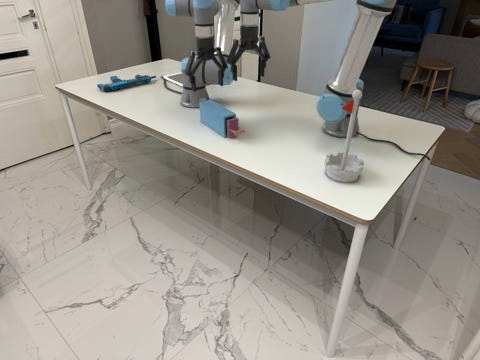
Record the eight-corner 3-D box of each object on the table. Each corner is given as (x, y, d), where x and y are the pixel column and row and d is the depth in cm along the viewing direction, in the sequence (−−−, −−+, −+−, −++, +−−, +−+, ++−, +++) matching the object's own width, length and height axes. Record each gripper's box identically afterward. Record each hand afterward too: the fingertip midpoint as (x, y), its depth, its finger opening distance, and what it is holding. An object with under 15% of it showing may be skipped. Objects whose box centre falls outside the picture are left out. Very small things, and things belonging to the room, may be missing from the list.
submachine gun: (141, 69, 223) (160, 75, 207) (142, 74, 225) (161, 81, 209) (89, 79, 205) (105, 87, 188) (91, 85, 207) (107, 93, 190)
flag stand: (346, 161, 127) (361, 81, 110) (369, 179, 117) (390, 94, 100) (316, 168, 123) (327, 86, 106) (337, 186, 113) (353, 99, 96)
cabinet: (236, 134, 147) (236, 113, 142) (224, 137, 144) (223, 117, 139) (211, 118, 162) (210, 99, 157) (200, 121, 159) (199, 102, 154)
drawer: (245, 139, 141) (245, 122, 137) (235, 142, 139) (235, 125, 134) (214, 119, 158) (214, 104, 154) (205, 121, 156) (204, 106, 152)
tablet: (160, 77, 217) (160, 76, 217) (187, 71, 229) (187, 71, 228) (188, 89, 197) (188, 88, 197) (215, 82, 208) (215, 81, 208)
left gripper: (225, 32, 146) (226, 80, 158) (172, 38, 135) (178, 90, 146) (235, 34, 141) (235, 85, 153) (181, 41, 129) (186, 95, 141)
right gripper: (270, 21, 144) (267, 72, 155) (217, 26, 133) (219, 80, 145) (280, 23, 138) (277, 76, 150) (226, 29, 128) (227, 84, 140)
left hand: (207, 88), depth 150 cm, fingers open, 13 cm apart
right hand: (248, 78), depth 147 cm, fingers open, 13 cm apart
